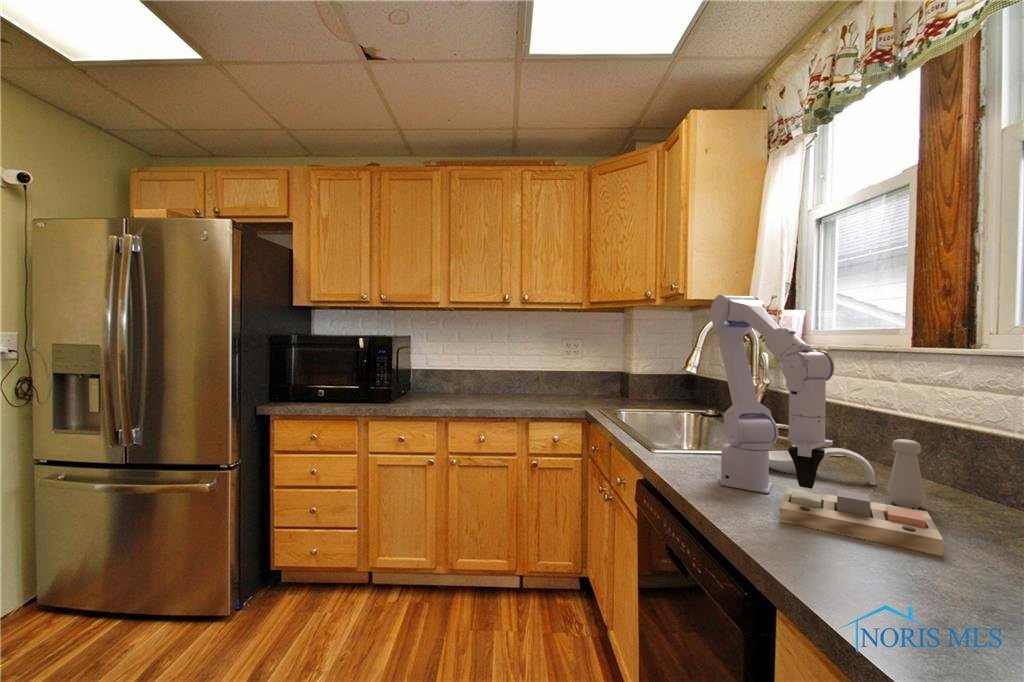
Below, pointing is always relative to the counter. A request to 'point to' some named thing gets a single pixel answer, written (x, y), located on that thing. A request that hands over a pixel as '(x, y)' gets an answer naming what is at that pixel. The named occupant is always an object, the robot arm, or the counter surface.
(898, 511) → the key terracotta
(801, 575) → the counter surface
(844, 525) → the tan wooden slotted tray
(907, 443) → the salt shaker
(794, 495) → the key sage
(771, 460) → the light grey curved piece
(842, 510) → the key slate
